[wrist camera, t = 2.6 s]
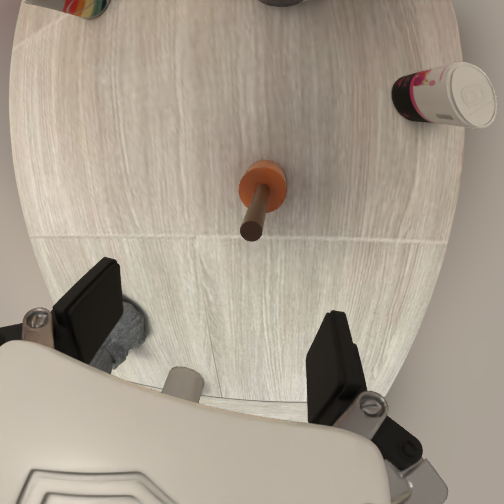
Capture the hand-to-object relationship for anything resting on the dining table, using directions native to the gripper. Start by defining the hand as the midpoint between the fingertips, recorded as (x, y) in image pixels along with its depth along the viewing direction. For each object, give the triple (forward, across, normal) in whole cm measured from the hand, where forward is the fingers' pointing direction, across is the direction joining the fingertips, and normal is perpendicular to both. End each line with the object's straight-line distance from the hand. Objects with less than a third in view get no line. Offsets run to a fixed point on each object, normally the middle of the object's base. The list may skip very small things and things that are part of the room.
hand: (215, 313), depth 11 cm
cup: (+28, +8, +46) cm, 55 cm away
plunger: (+27, 0, 0) cm, 27 cm away
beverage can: (+27, -17, -17) cm, 37 cm away
